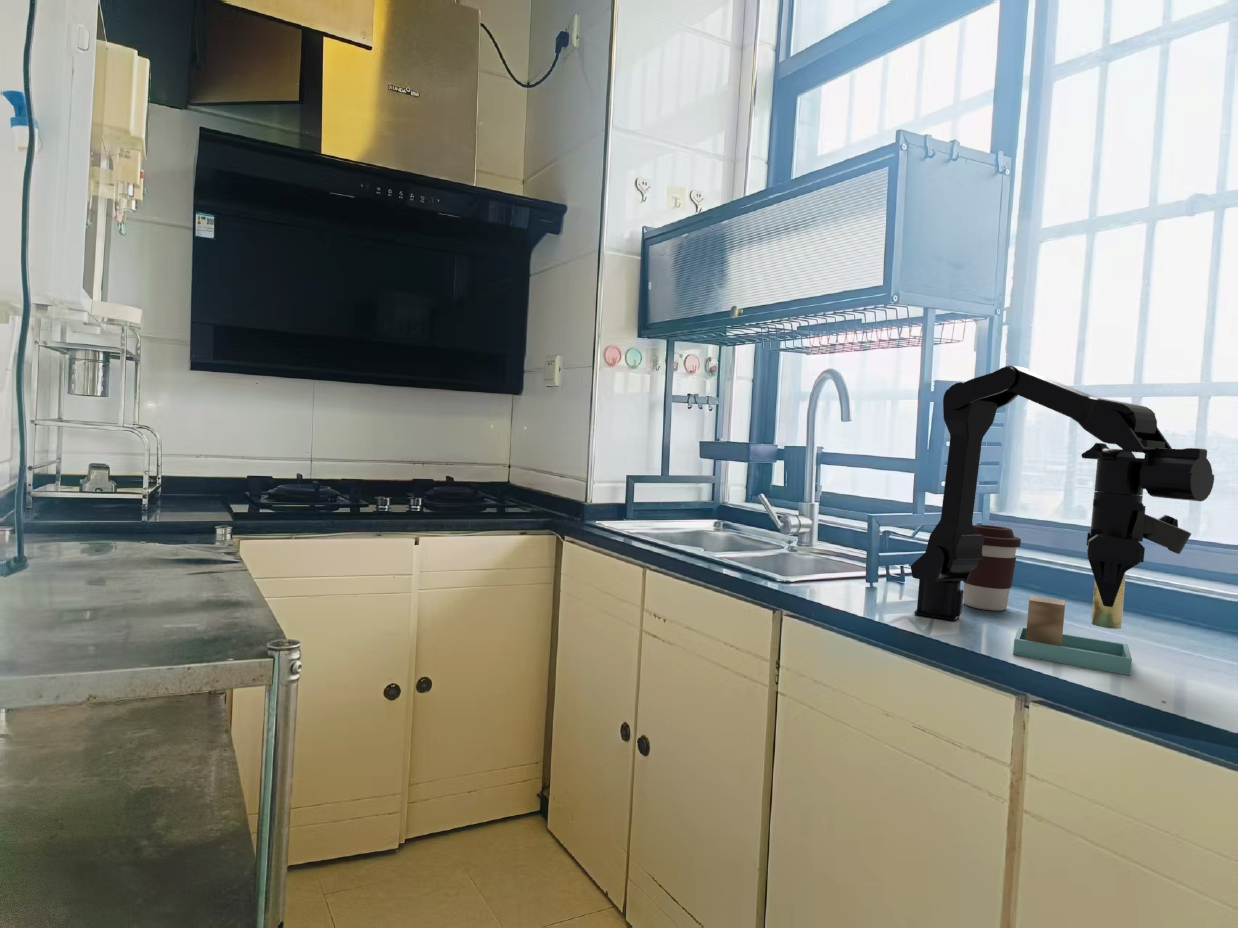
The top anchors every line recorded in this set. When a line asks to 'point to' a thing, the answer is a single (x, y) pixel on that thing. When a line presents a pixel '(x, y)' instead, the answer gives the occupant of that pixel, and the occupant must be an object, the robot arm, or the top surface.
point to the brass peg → (1108, 609)
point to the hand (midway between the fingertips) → (1107, 604)
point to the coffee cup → (992, 569)
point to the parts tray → (1077, 652)
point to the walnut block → (1045, 620)
